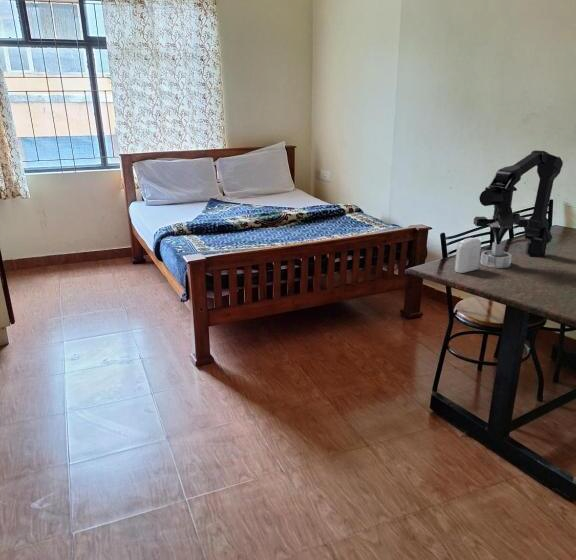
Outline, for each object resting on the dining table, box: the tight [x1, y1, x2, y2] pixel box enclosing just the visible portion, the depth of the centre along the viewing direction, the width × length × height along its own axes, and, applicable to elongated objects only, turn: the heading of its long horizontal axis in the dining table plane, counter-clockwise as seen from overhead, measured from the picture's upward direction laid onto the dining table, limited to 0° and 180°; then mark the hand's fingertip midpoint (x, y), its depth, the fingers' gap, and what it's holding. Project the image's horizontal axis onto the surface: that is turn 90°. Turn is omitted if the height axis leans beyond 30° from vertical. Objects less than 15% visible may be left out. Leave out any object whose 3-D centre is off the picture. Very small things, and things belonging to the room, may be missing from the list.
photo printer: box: [454, 237, 482, 274], centre depth 185 cm, size 10×4×12 cm, turn 123°
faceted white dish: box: [479, 249, 513, 269], centre depth 195 cm, size 11×11×4 cm
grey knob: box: [487, 241, 506, 257], centre depth 194 cm, size 7×7×6 cm
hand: (497, 243), depth 193 cm, fingers closed, pressing on grey knob
